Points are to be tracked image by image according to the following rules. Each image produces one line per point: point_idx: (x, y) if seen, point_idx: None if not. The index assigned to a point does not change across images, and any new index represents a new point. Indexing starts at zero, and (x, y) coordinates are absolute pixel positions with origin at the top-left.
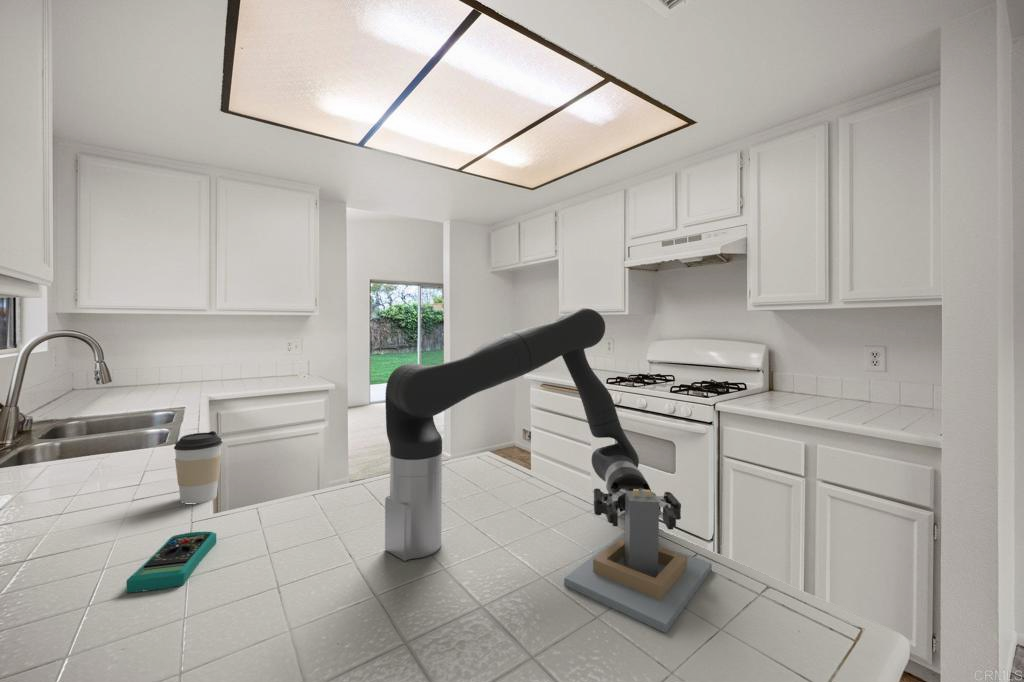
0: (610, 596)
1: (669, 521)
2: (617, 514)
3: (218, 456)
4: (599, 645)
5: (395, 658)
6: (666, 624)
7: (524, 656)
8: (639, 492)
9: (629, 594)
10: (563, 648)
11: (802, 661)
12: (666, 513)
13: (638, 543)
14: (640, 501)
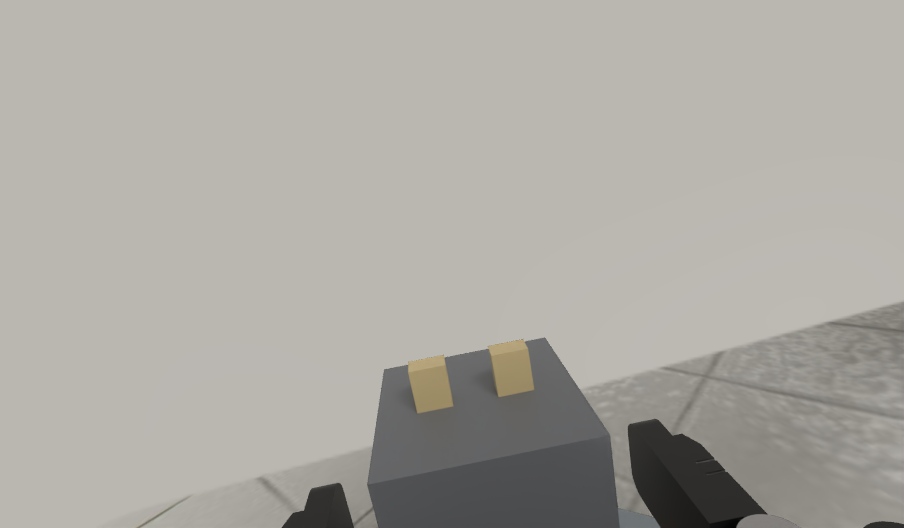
0: (623, 519)
1: (343, 497)
2: (630, 424)
3: None
4: (605, 424)
5: (901, 320)
6: None
7: (719, 373)
8: (487, 437)
9: None
10: (666, 401)
11: (221, 504)
12: (329, 526)
13: None
14: (487, 349)
